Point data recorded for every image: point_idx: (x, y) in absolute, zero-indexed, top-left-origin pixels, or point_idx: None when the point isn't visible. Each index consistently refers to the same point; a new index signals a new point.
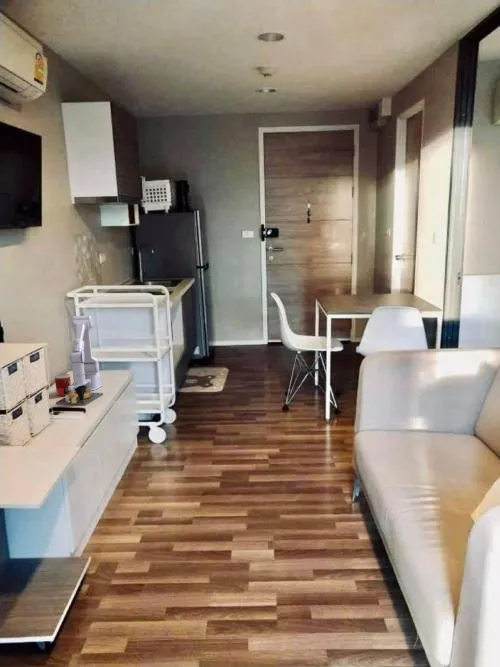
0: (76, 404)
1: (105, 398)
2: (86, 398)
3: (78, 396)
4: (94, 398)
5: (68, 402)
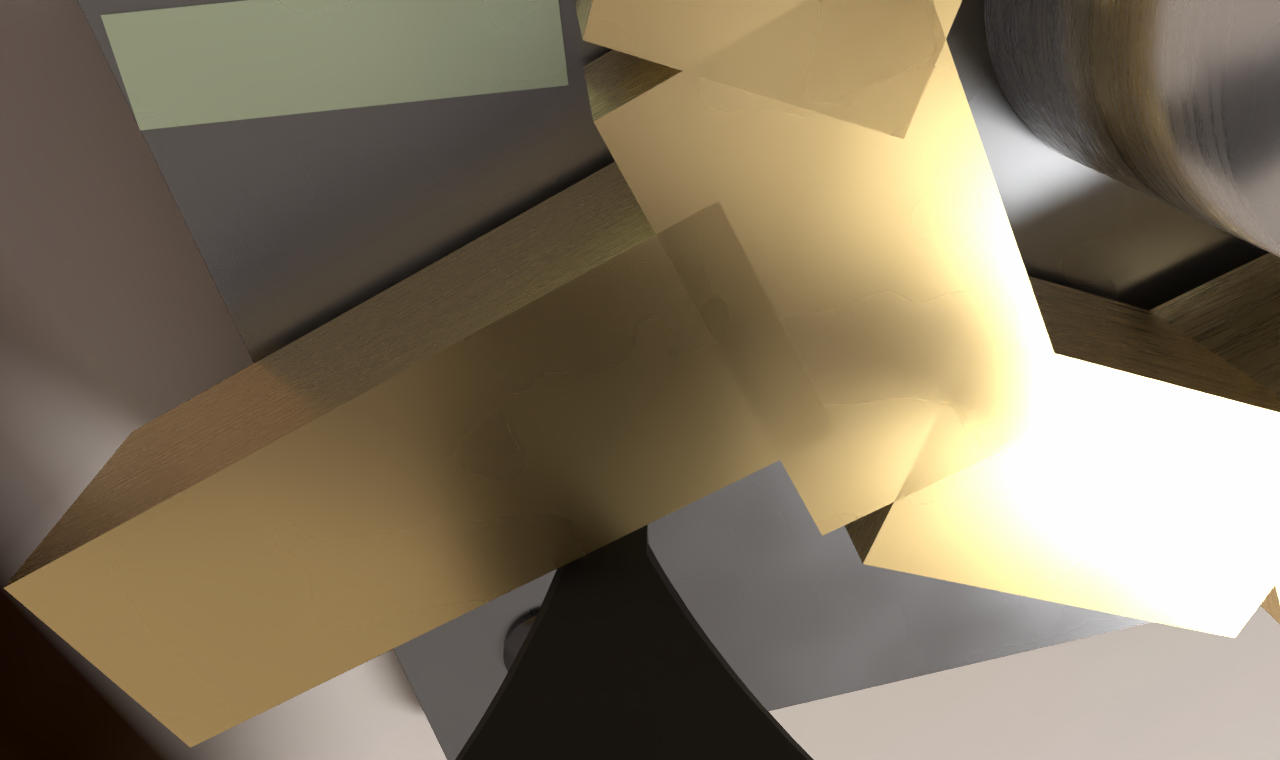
0: None
1: (1238, 748)
2: None
3: (592, 529)
4: (1086, 623)
5: (142, 91)
